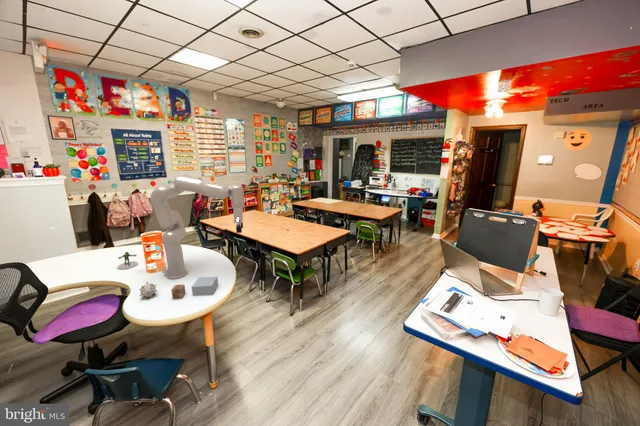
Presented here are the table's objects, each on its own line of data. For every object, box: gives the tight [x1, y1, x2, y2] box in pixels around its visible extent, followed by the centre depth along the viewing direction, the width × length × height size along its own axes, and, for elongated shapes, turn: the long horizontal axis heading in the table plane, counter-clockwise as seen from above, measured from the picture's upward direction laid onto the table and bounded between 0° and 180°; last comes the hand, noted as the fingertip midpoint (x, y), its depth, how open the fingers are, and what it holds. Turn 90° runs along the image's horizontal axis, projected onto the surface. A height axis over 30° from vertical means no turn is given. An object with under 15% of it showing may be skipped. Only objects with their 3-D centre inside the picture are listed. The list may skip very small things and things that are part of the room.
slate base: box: [191, 276, 219, 297], centre depth 148 cm, size 11×11×6 cm
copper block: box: [170, 284, 187, 300], centre depth 142 cm, size 5×5×6 cm
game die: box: [138, 281, 157, 299], centre depth 142 cm, size 9×8×10 cm
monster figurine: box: [116, 251, 139, 271], centre depth 179 cm, size 12×12×10 cm
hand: (239, 230), depth 163 cm, fingers open, 9 cm apart
